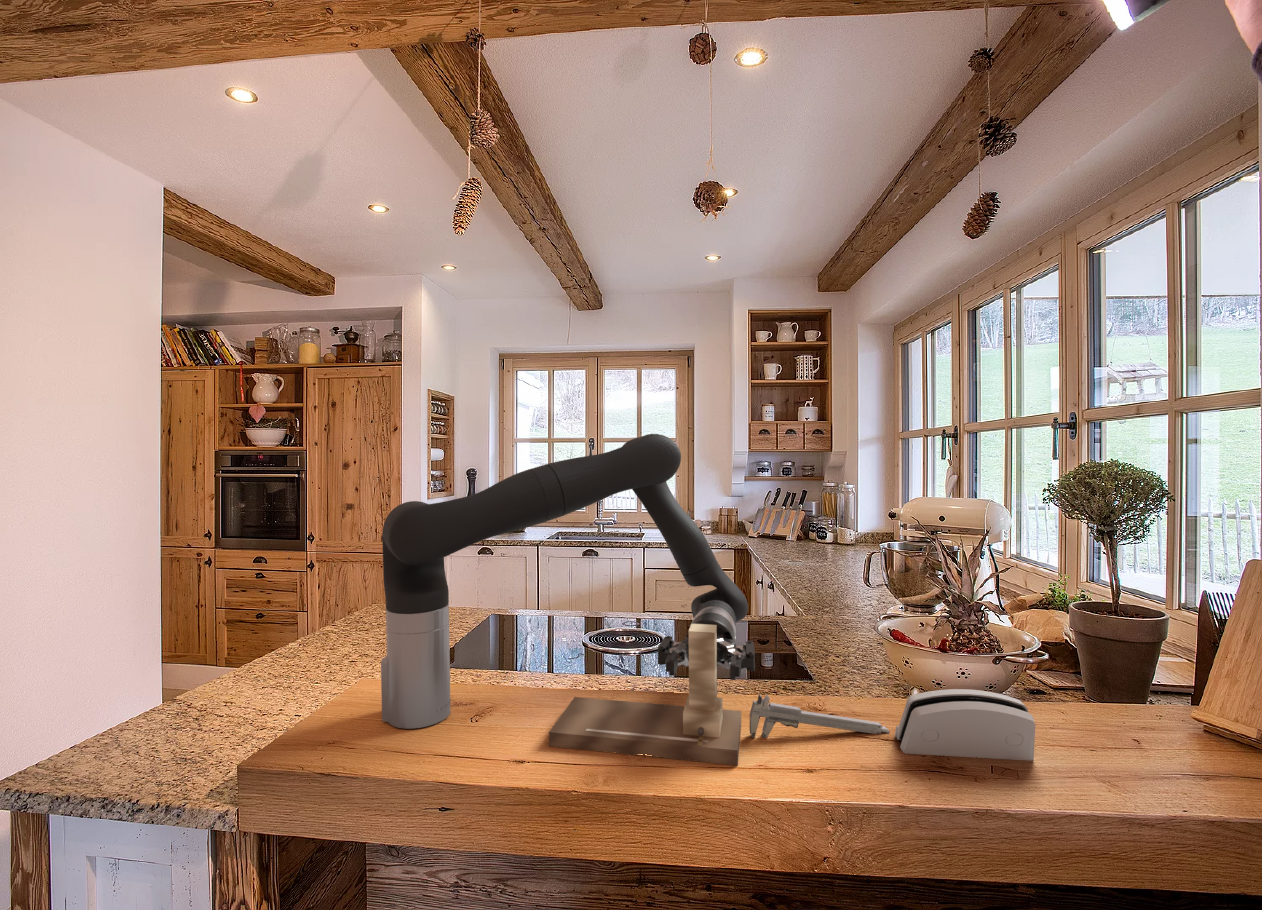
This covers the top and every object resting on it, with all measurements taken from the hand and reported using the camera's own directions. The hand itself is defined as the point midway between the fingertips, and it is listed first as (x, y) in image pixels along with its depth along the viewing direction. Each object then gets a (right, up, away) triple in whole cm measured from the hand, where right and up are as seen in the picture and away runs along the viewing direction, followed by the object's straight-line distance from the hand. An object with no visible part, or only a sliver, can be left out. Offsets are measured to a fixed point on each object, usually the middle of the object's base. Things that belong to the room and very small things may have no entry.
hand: (702, 670), depth 85 cm
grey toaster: (+35, -11, -2) cm, 37 cm away
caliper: (+18, -11, +4) cm, 21 cm away
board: (-7, -11, +4) cm, 13 cm away
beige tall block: (0, -9, +2) cm, 9 cm away
